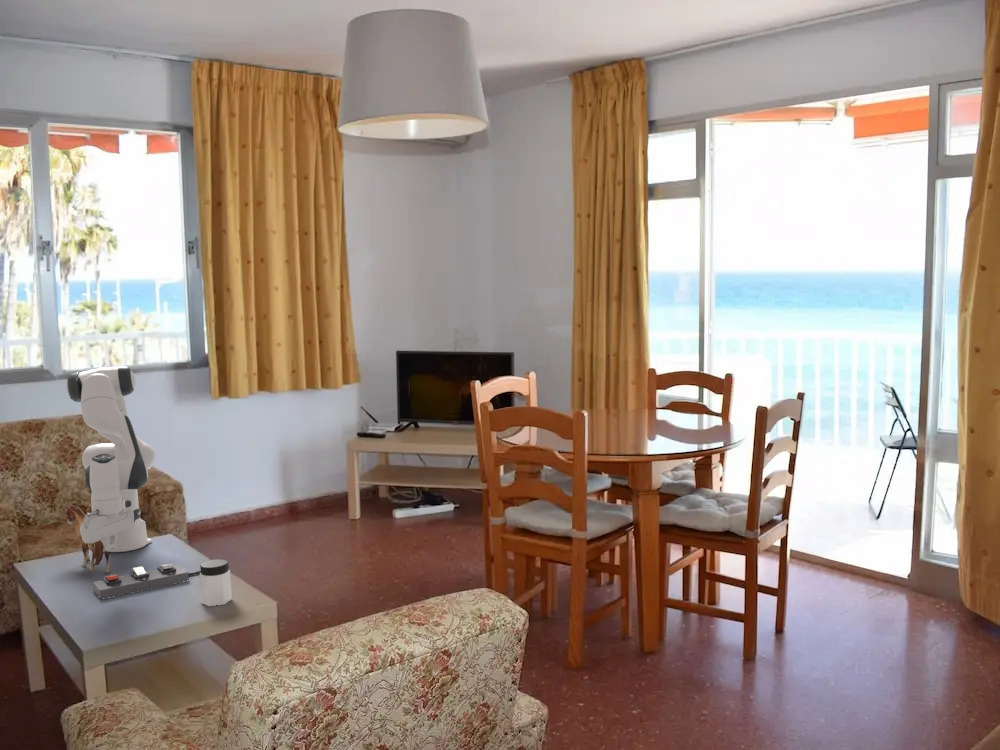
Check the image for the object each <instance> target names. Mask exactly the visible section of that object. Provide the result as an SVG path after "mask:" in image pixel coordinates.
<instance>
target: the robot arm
mask: <svg viewBox="0 0 1000 750" xmlns="http://www.w3.org/2000/svg"><path fill="white" fill-rule="evenodd" d="M65 386H66V393H67V394H68V396H69V398H70V399H71V400H72V401H73V402H75V403H80V408H81V415H82V419H83V422H84V423H85V424H86V425H87V427H89V428H91V429H92V430H95V431H97V433H98V434H99V435H100V436H101V437H104V438H105V439H106V440H109V441H110V442H107V443H103V442H102V443H97V444H96V443H95V444H92V445H88V446H87V447H86V448H85V450H83V453H82V457H81V460H82V461H81V462H82V465H83V467H84V469H85V470H84V475H85V488H87V489H88V490H90V491H91V496H90V503H91V505H90V506H91V512H87V513H85V515H86V516H85V518H84V519H83V524H82V541H83V542H84V543H85V544H86V543H94V544H95V542H97V541H100V540H101V542H102V543H103V545H104V549H103V553H104V550H105V551H108V553H109V552H110V553H121V552H130V551H135V550H138V549H141V548H144V547H146V545H148V544H152V542H153V540H152V538H149V537H148V533H147V524H146V521H145V520H143V519H142V518H141V513H142V512H141V508H140V506H139V505H140V504H139V496H138V494H139V493H138V492H139V491H138V490H140V489H141V488H142V487H143V486H145V484H146V483H147V482H148V479H149V472H148V471H149V470H150V469H151V468H152V467H153V465H154V463H155V459H156V456H155V451H154V449H153V447H152V446H151V445H150V444H148V443H146V441H143V440H142V439H141V438H140V437H139V436H138V435H137V434H136V433H135V429H134V428H133V425H132V422H131V420H130V418H129V416H128V411H127V406H126V402H125V396H128V395H131V394H132V393H133V392H134V391H135V387H136V376H135V374H134V372H133V371H132V369H131V368H130V367H129V366H124V365H118V366H110V367H109V366H107V367H99V368H94V369H89V370H83V371H81V372H80V371H76V372H74V373H71V374H69V376H68V377H67V379H66V385H65Z"/></svg>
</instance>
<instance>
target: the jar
mask: <svg viewBox="0 0 1000 750" xmlns="http://www.w3.org/2000/svg"><path fill="white" fill-rule="evenodd" d="M199 566H200V567H199V568H200V571H201V573H200V574H198V577H199V588H200V590H199V592H200V602H201V604H202V605H204V604H205V606H207V607H209V606H210V607H215V606H216V605H218V606H225V605H226V604H227V603H229V602H230V601H232V600H233V596H232V578H231V569H229V568H230V567H229V561H228V560H226V559H221V558H220V559H218V558H217V559H211V560H210V559H209V560H205V561H203V562H202V563H200V565H199Z"/></svg>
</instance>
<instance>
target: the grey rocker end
mask: <svg viewBox="0 0 1000 750" xmlns="http://www.w3.org/2000/svg"><path fill="white" fill-rule="evenodd" d="M159 566H160V568H161V569H163V570H167V569H171V568H173V566H174V565H173V563H167V564H166V563H165V564H160V565H159Z"/></svg>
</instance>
